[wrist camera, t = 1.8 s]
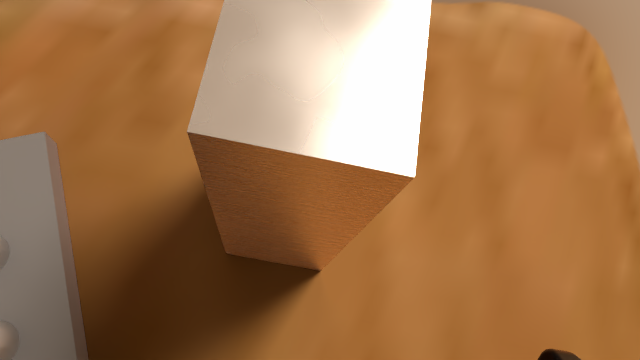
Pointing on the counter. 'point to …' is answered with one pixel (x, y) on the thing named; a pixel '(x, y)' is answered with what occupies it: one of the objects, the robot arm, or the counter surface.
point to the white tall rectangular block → (308, 121)
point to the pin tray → (36, 256)
